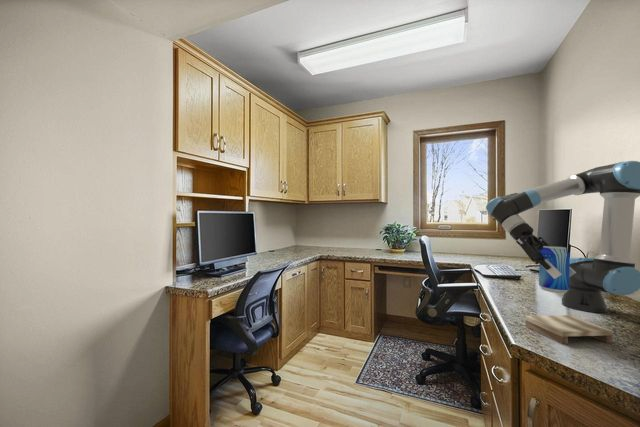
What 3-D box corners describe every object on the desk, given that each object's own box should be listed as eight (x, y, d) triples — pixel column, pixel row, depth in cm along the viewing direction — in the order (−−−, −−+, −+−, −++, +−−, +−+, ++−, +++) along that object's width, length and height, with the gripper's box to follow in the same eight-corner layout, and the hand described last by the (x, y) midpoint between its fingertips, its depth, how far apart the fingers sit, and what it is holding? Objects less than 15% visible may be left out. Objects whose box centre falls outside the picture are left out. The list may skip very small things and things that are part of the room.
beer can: (575, 294, 94) (575, 249, 94) (547, 292, 96) (547, 247, 96) (559, 288, 102) (560, 246, 102) (534, 286, 104) (534, 245, 104)
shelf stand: (569, 325, 103) (569, 315, 103) (612, 342, 89) (612, 330, 89) (525, 326, 101) (525, 316, 101) (562, 344, 87) (562, 331, 87)
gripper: (526, 234, 118) (571, 279, 103) (494, 234, 109) (539, 283, 94) (540, 222, 113) (590, 267, 98) (508, 221, 104) (557, 271, 90)
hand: (565, 275), depth 96 cm, fingers closed on beer can, 8 cm apart
